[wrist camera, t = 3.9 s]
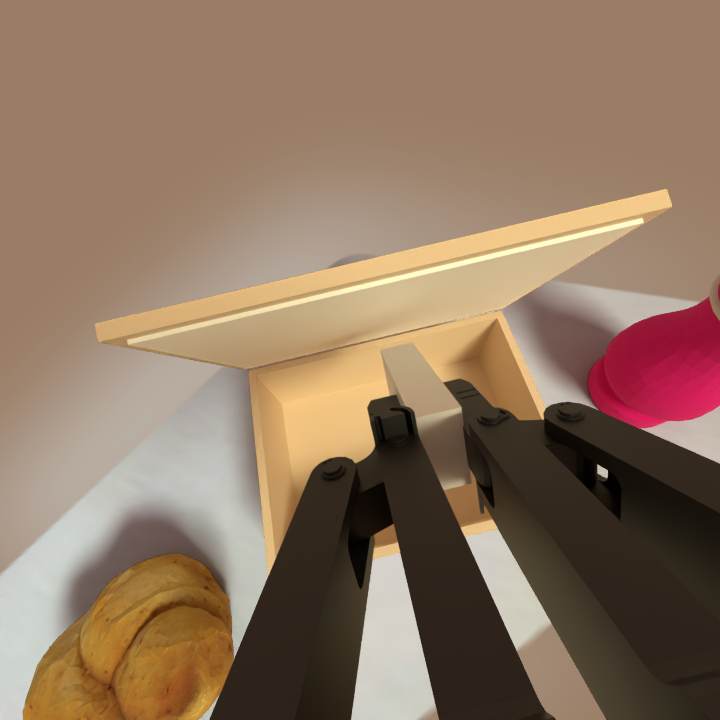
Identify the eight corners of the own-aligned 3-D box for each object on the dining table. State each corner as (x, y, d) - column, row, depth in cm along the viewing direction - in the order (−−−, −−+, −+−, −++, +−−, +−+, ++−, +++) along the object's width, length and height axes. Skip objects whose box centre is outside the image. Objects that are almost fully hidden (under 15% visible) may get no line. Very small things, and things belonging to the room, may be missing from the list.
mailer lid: (99, 347, 12) (94, 323, 12) (242, 371, 25) (239, 360, 26) (673, 211, 12) (666, 188, 12) (507, 308, 26) (504, 297, 26)
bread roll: (97, 809, 23) (-46, 940, 15) (47, 650, 26) (-87, 696, 19) (273, 649, 25) (223, 699, 18) (206, 525, 29) (141, 523, 21)
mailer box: (299, 571, 27) (269, 584, 20) (277, 402, 32) (247, 370, 26) (544, 512, 27) (589, 506, 21) (480, 353, 32) (501, 310, 26)
